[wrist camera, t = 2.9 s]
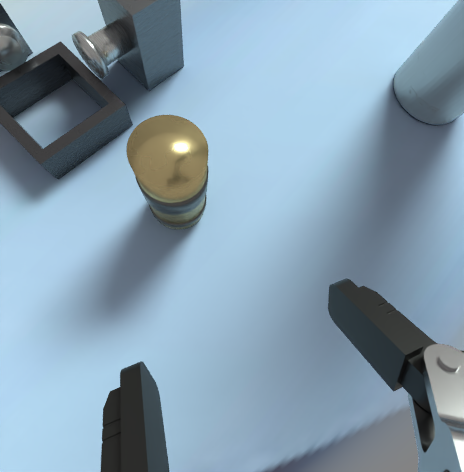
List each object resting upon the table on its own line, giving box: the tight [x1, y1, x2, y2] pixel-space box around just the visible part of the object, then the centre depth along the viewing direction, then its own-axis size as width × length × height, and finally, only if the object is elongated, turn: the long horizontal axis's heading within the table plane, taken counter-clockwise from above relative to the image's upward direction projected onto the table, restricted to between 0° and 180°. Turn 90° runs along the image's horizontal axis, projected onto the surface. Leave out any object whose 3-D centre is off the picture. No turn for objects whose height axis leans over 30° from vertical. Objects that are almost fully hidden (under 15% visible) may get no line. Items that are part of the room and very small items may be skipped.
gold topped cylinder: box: [127, 115, 208, 229], centre depth 22 cm, size 5×5×10 cm
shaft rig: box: [0, 0, 184, 179], centre depth 25 cm, size 18×18×8 cm
